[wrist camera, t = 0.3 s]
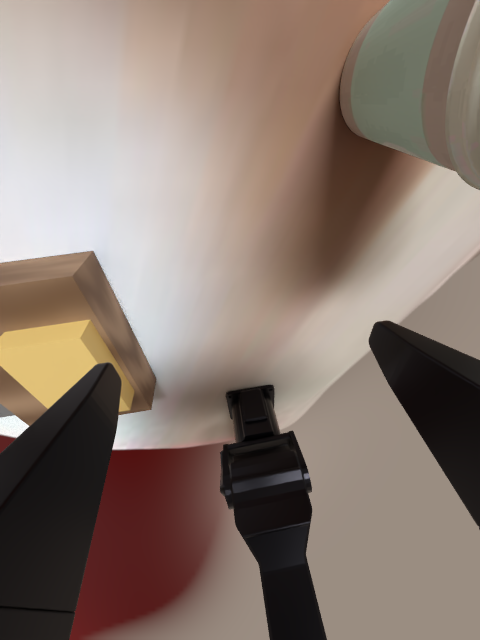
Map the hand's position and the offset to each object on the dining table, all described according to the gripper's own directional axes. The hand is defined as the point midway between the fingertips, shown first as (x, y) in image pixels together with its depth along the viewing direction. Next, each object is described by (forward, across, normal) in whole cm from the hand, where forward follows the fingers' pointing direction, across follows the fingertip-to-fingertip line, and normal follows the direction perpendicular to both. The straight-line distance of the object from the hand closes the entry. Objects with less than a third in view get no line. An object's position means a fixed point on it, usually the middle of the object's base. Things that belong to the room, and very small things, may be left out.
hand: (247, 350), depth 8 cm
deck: (+14, +16, +8) cm, 22 cm away
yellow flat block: (+10, +13, +9) cm, 18 cm away
